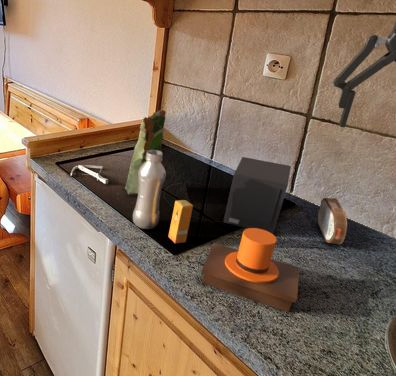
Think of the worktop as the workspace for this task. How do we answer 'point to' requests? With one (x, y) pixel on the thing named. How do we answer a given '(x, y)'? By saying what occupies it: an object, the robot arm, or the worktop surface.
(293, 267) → the stand
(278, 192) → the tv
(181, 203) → the supplement box
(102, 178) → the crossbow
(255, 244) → the hat
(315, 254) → the worktop surface
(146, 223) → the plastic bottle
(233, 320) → the worktop surface
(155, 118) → the pouch
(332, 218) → the tin
